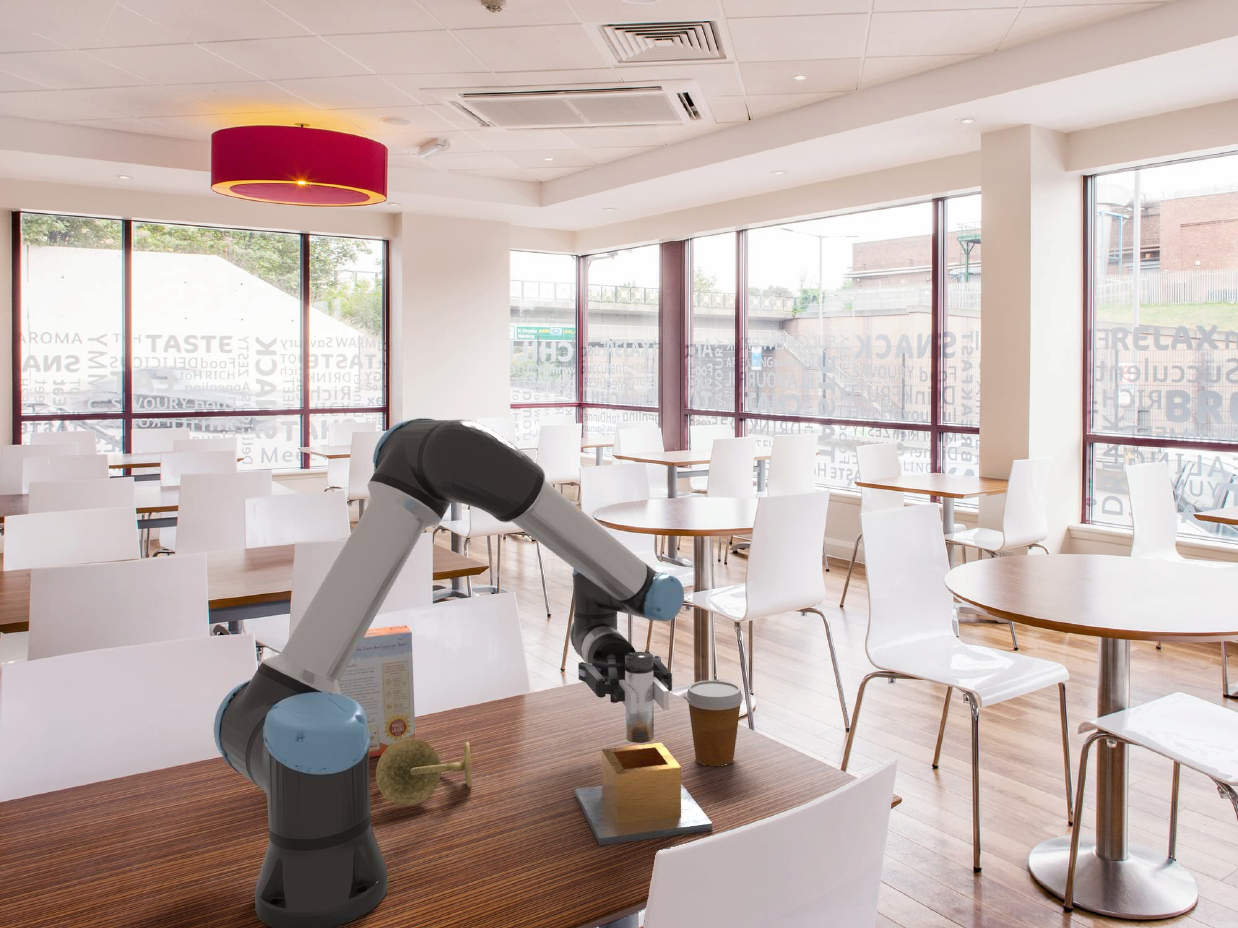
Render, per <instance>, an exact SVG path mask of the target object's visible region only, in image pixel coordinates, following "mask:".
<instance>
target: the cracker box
mask: <svg viewBox="0 0 1238 928" xmlns="http://www.w3.org/2000/svg"><path fill="white" fill-rule="evenodd" d="M412 634H413V633H412V631H411V629H410V627H409V626H408V625H406V624H404V625H396V626H395V625H394V626H386V627H377V628H369V629H368V631H367V632H366V634H365V636H364V638H363V640H362V641H361V643H360V645H359V647H358V648H357V650H356V652H355V654H354V656H353V657H352V659H351V661H350V663H349V665H348V666H347V668H346V670H345V672H344V674H343V675H342V677H341V679H340V681H339V687H340V690H341V694H342V695H344V696H347V697H350V698H352V699H353V700H355V701H357V702H358V703H359V704H360V705H361V706H362V707H363V709H364V711H365V713H366V717H367V724H368V729H369V734H370V744H369V759H370V758H374V757H375V758H376V757H381V755H382V754H383V752H384V751H385V750H386V749H387V748H388V747H389V746H390V745H392V744H393V743H395V742H397V741H399V740H402V739H407V738H415V739H417V738H416V719H415V717H416V716H415V715H416V713H415V712H416V711H415V709H416V708H415V689H414V687H415V685H414V684H415V683H414V682H415V681H414V660H413V635H412Z"/></svg>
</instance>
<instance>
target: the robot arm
mask: <svg viewBox="0 0 1238 928" xmlns="http://www.w3.org/2000/svg"><path fill="white" fill-rule="evenodd" d="M372 463H373V467H374V468H373V472H374V473H373V474H372V476H371V478H370V480H369V481H368V483H367V489H368V493H369V497H370V500H369V503H368V504H367V506H366V508H365V510H364V511H363V513H362V515H361V517H360V518H359V519H358V521H357V523H356V525H355V527H354V528H353V529H352V532H351V534H350V535H349V536H348V538H347V540H346V541H345V544H344V546H343V547H342V549H341V550H340V552H339V554H338V555H337V557H336V559H335V560H334V563H333V564H332V565H331V567H330V569H329V571H328V572H327V574H326V576H325V577H324V579H323V581H322V583H321V584H320V586H319V587H318V589H317V591H316V593H315V594H314V596H313V598H312V599H311V601H310V603H309V605H308V607H307V608H306V610H305V612H304V613H303V615H302V617H301V619H300V620H299V622H298V623H297V625H296V627H295V628H294V630H293V631H292V633H291V635H290V637H289V639H288V641H286V644H285V645H284V647H283V649H282V651H281V652H280V653H278V654H277V655H273V656H270V657H268V658H265V659H263V660H262V661H261V663H260V665H259V666H258V668H257V670H256V671H255V673H254V675H253V676H252V678H251V679H249V680H247V681H245V682H243V683H240V684H238V685H236V686H235V687H233V689H232V690H230V691H229V692H228V693H227V694H226V695H225V697H224V698H223V700H222V701H221V703H220V704H219V706H218V709H217V710H216V714H215V717H214V723H213V738H214V742H215V745H216V748H217V750H218V751H219V754H220V755H221V756H222V757H223V758H224V760H225V762H226V764H227V765H228V766H229V767H230V768H231V769H233V771H234V772H236V773H237V774H240V775H242V776H244V777H245V778H246V779H248V780H249V781H251V782H252V783H253V784H254V785H255V786H257V787H258V788H259V789H260V790H262V791H263V792H264V793H265V794H266V798H267V799H266V802H267V818H268V819H267V820H268V821H267V822H268V844H267V845H268V846H267V849H266V852H265V855H264V859H263V862H262V866H261V869H260V871H259V874H258V875H259V876H258V879H257V882H256V886H255V889H254V901H255V903H254V904H255V913H256V916H257V918H258V919H259V921H261V922H262V923H263V924H264V925H266V926H268V927H270V928H335V927H340V926H342V925H345V924H348V923H350V922H353V921H354V920H355V921H356V920H357V919H359V918H361V917H363V916H365V915H367V914H368V913H369V912H371V911H372V910H373V909H375V908H376V907H377V906H378V905H380V903H381V902H382V900H384V898H385V896H386V894H387V891H388V886H389V884H388V868H387V864H386V861H385V859H384V856H383V853H382V850H381V848H380V846H379V843H378V840H377V837H376V836H375V832H374V830H373V828H372V820H371V819H372V817H371V780H370V779H371V778H370V777H371V776H370V773H371V772H370V771H371V770H370V758H369V744H370V734H369V729H368V724H367V717H366V713H365V711H364V709H363V707H362V706H361V705H360V704H359V703H358V702H357V701H355V700H353V699H352V698H350V697H347V696H344V695H342V694H341V690H340V687H339V681H340V679H341V677H342V675H343V674H344V672H345V670H346V668H347V666H348V665H349V663H350V661H351V659H352V657H353V656H354V654H355V652H356V650H357V648H358V647H359V645H360V643H361V641H362V640H363V638H364V636H365V634H366V632H367V631H368V629H370V627H371V625H372V623H373V621H374V620H375V618H376V617H377V614H378V613H379V611H380V610H381V607H382V606H383V603H384V602H385V600H386V598H387V596H388V595H389V593H390V591H391V589H392V587H393V585H394V584H395V583H396V581H397V578H398V577H399V575H400V574H401V572H402V570H403V568H404V566H405V564H406V562H407V560H408V559H409V557H410V556H411V553H412V552H413V549H415V546H416V545H417V543H418V541H419V539H420V537H422V534H423V532H424V531H425V530H426V529H427V528H430V527H433V526H435V525H436V526H437V525H439V524H440V523H441V521H442V519H443V518H444V516H445V514H446V512H447V511H448V510H449V507H450V506H451V503H458V504H464V505H466V506H467V505H468V506H470V507H474V508H476V509H479V510H481V511H484V512H485V513H488V514H489V515H491V516H492V517H494V518H495V519H496V520H498V521H499V522H501V523H513V524H515V525H516V526H517V527H519V528H520V529H521V530H523V531H524V532H526V534H528V535H529V536H531V537H532V538H533V539H534V540H536V541H537V542H539V543H540V544H541V545H543V547H545V548H546V549H548V551H550V552H552V553H553V554H555V555H556V556H558V558H560V559H561V560H562V561H564V562H565V563H566V564H568V565H569V566H570V567H571V568H573V570H572V571H573V573H572V580H573V581H572V582H573V585H572V586H573V587H572V588H573V608H574V609H573V610H574V611H573V622H572V624H571V626H570V630H569V639H570V642H571V645H572V647H573V649H574V651H575V653H576V654H577V655H578V656H579V657H581V659H582V660H583V661H581V662H578V665H577V667H578V670H577V671H578V680H579V681H581V682H584V683H585V684H586V685H587V686H588V688H590V690H591V691H592V692H593V693H594V694H595V695H596V697H598V698H601V699H602V698H604V697H605V698H606V695H609V697H610V698H609V699H610V703H613V704H617V703H619V702H621V703H622V704H623V705H624V706H625V709H626V708H627V709H628V710H629V711H630V713H631V714H634V713H637V704H636V693H635V692H634V691H633V689H632V688H631V687H630V686H629V685H628V684H627V683H626V681H625V655H626V654H628V653H631V652H637V651H636V650H635V648H634V646H633V644H631V642H629V641H628V639H626V638H625V637H624V636H623V635H622V634H621V632H619V631H618V612H619V613H622V614H627V615H631V616H634V617H638V618H643V619H646V620H649V621H650V622H652V621H653V622H654V621H658V622H670V621H672V620H673V619H675V618H676V617H677V616H678V615H679V613H680V611H681V609H682V607H683V605H684V600H685V591H684V587H683V583H682V582H681V581H680V580H679V578H678V577H676V576H674V575H670V574H668V573H665V572H658V571H656V570H654V569H653V567H651V566H649V565H648V564H647V563H646V562H644V561H643V560H642V559H641V558H640V557H638V556H637V555H636V554H634V553H633V552H632V551H631V550H630V549H629V548H627V547H626V546H625V545H624V544H623V543H621V542H620V541H619V540H618V539H617V538H615V537H614V536H613V535H612V534H611V533H609V532H608V531H607V530H606V529H605V528H603V527H602V526H601V525H600V524H599V523H597V522H596V521H595V520H594V519H593V518H592V517H590V516H589V515H588V514H587V513H586V512H584V511H583V510H582V509H581V508H579V506H577V505H576V504H575V503H573V502H572V501H571V500H570V499H568V498H567V497H566V495H564V494H562V492H561V491H559V490H558V489H556V488H555V487H554V486H553V485H552V484H550V483H549V482H548V481H547V480H546V473H545V470H544V469H543V468H542V467H541V466H540V465H539V464H537V463H536V462H535V461H534V459H532V458H531V457H530V456H528V455H527V454H526V453H524V452H523V451H522V450H521V449H519V448H518V447H517V446H516V445H515V444H513V443H512V442H511V441H510V440H508V439H507V438H505V437H504V436H502V435H501V434H499V433H498V432H496V431H495V430H494V429H492V428H490V427H488V426H486V425H484V424H481V423H478V422H476V421H472V420H469V419H433V418H427V417H424V418H423V417H419V418H414V419H409V420H404V421H401V422H399V423H396V424H394V425H393V426H392V427H390V428H389V429H388V430H386V431H385V432H384V433H383V435H382V436H381V437H380V438H379V440H378V441H377V444H376V446H375V448H374V451H373V456H372ZM672 691H673V674H672V672H671V671H670V670H669V668H667V666H666V665H665V664H664V663H663V662H662V657H661V656H660V655H655V656H654V655H653V701H655V703H656V704H657V705H658V706H659V707H660V708H661V709H662V710H663V711H669V710H670V692H672Z"/></svg>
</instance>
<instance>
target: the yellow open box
mask: <svg viewBox="0 0 1238 928" xmlns="http://www.w3.org/2000/svg"><path fill="white" fill-rule="evenodd" d="M574 792H575V793H574V795H575V797H576V799H577V802H578V804H579V805H580V809H581V810H582V812H583V814H584V817H585V819H586V821H587V823H588V824H589V827H590V828H591V829H590V830H591V831H592V834H593V835H594V837H595V839H596V842H597V843H598V846H606V845H614V844H622V843H628V842H636V841H643V840H651V839H658V838H665V837H672V836H679V835H678V834H681V835H687V833H688V834H695V833H702V832H710V831H713V823H712V821H711V820H710V819H709V817H708V816H707V814H706V813H705V812H704V811H703V809H702V808H701V807H700V805H699V804H698V802H696V800H695V799H694V798H693V797H692V795H691V794H690V793H689V792H688V790H687V789H686V787H684V784H682V766H681V765H680V764H679V763H678V762H677V760H676V759H675V758H674V756H673V755H672V754H671V752H669V750H668V749H667V748H666V747H665V745H664V744H663V743H662V742H657V743H649V744H646V743H645V744H638V745H629V746H619V747H610V748H604V749H603V748H602V749H601V785H596V786H595V785H593V786H585V787H577V788H575V789H574ZM693 832H694V833H693Z"/></svg>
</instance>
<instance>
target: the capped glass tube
mask: <svg viewBox="0 0 1238 928" xmlns="http://www.w3.org/2000/svg"><path fill="white" fill-rule="evenodd" d="M653 657H654V655H653V654H652V653H651V652H646V651H636V652H631V653H628V654H626V655H625V681H626V683H627V684H628V685H629V686H630V687H631V688H632V689H633V691H634V692H635V693H636V704H637V713H634V714H631V713H630V711H629V710H628V709H627V708H626V707H625V739H626V740H627V741H629V742H631V743H635V744H644V743H645V744H646V743H650V742H651V741H653V740H654V738H655V727H654V726H655V723H654V721H655V720H654V719H655V717H654V716H655V715H654V712H655V711H654V699H653Z"/></svg>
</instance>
